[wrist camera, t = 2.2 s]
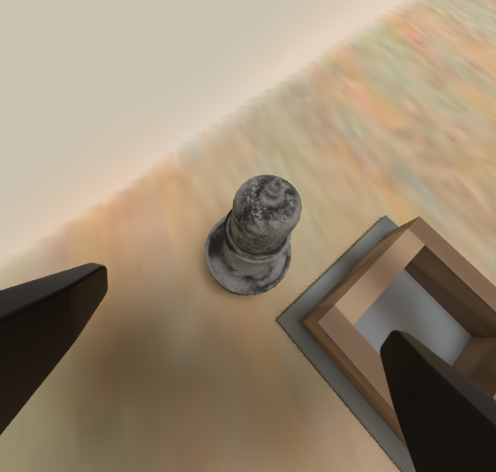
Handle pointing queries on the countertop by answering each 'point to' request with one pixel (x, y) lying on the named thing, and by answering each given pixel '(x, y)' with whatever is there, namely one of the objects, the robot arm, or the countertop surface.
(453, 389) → the robot arm
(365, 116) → the countertop surface
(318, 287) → the holder
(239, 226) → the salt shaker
